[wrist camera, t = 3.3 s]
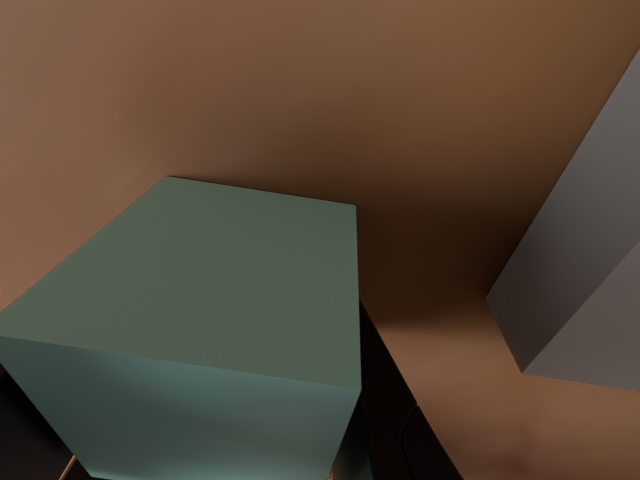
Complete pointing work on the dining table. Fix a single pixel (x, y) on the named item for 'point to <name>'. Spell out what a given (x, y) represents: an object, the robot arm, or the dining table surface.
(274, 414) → the teal cube
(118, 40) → the dining table surface
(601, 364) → the slate board
